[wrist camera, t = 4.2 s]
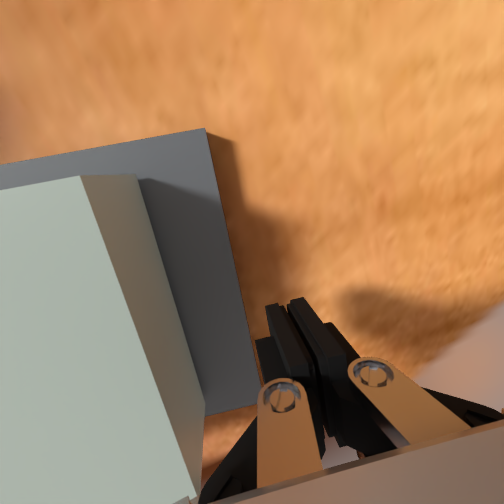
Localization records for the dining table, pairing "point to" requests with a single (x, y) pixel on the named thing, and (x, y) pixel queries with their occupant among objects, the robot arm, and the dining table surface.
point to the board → (179, 249)
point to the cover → (92, 352)
